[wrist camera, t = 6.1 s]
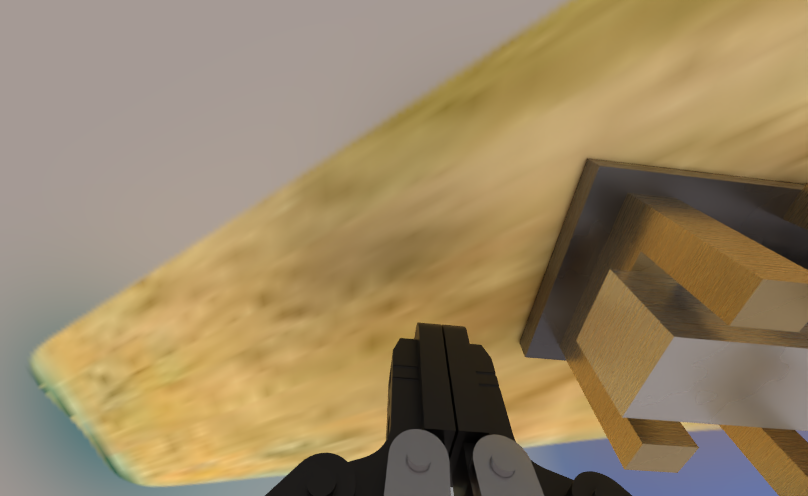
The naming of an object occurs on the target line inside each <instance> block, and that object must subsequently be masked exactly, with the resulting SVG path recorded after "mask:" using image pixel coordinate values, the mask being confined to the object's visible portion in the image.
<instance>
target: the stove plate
mask: <svg viewBox="0 0 808 496" xmlns="http://www.w3.org/2000/svg"><path fill="white" fill-rule="evenodd" d="M804 186H805V184H796V183H788V182H780V181H771V180H763V179H755V178H746V177H738V176H729V175H721V174H713V173H704V172H696V171H687V170H679V169H671V168H662V167H654V166H646V165H637V164H629V163H620V162H612V161H604V160H595V159H587V162H586V165H585V168H584V170H583V173H582V176H581V178H580V181H579V184H578V186H577V189H576V192H575V195H574V197H573V200H572V203H571V205H570V208H569V211H568V213H567V216H566V219H565V222H564V224H563V227H562V230H561V232H560V235H559V238H558V241H557V243H556V246H555V249H554V251H553V254H552V257H551V259H550V262H549V265H548V268H547V270H546V273H545V276H544V278H543V281H542V284H541V286H540V289H539V292H538V295H537V297H536V300H535V303H534V305H533V308H532V311H531V314H530V316H529V319H528V322H527V324H526V327H525V330H524V332H523V335H522V338H521V341H520V345H521V348H522V350H523V353H524V355H525V357H530V358H542V359H554V360H566V358H565V356H564V354H563V353H562V351H561V349H560V347H559V346H560V344H561V342H562V339H563V337H564V335H565V333H566V330H567V328H568V326H569V324H570V321H571V319H572V317H573V315H574V312H575V310H576V308H577V306H578V303H579V301H580V299H581V297H582V295H583V292H584V290H585V288H586V286H587V283H588V281H589V279H590V277H591V274H592V272H593V270H594V268H595V265H596V263H597V261H598V259H599V256H600V254H601V252H602V250H603V247H604V245H605V243H606V241H607V238H608V236H609V234H610V232H611V229H612V227H613V225H614V223H615V220H616V218H617V216H618V214H619V211H620V209H621V207H622V205H623V202H624V200H625V198H626V196H627V193H635V194H644V195H653V196H662V197H670V198H677V199H679V200H680V201H682V202H684V203H686V204H688V205H690V206H691V207H693V208H695V209H697V210H699V211H701V212H702V213H704V214H706V215H708V216H710V217H712V218H713V219H715V220H717V221H719V222H721V223H722V224H724V225H726V226H728V227H730V228H732V229H733V230H735V231H737V232H739V233H741V234H743V235H744V236H746V237H748V238H750V239H752V240H754V241H755V242H757V243H759V244H761V245H763V246H764V247H766V248H768V249H770V250H772V251H774V252H775V253H777V254H779V255H781V256H783V257H785V258H786V259H788V260H790V261H792V262H794V263H796V264H797V265H799V266H801V267H803V268H805V269H807V270H808V230H806V229H804V228H802V227H799V226H797V225H795V224H793V223H790V222H788V221H786V220H784V219H782V218H783V217H784V215H785V214H786V212H787V211H788V209H789V208H790V206H791V205H792V204H793V202H794V201H795V199H796V198H797V196H798V195H799V193H800V192H801V191H802V189H803V188H804Z"/></svg>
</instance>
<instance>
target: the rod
mask: <svg viewBox="0 0 808 496" xmlns="http://www.w3.org/2000/svg"><path fill="white" fill-rule="evenodd" d="M576 341H577V343H578V345H579V346H580V348H581V350H582V351H583V353H584V355H585V356H586V358H587V360H588V361H589V363H590V365H591V366H592V368H593V370H594V371H595V373H596V375H597V376H598V378H599V380H600V381H601V383H602V385H603V386H604V388H605V390H606V391H607V393H608V395H609V396H610V398H611V400H612V401H613V403H614V405H615V406H616V408H617V410H618V411H619V413H620V415H621V417H623V418H636V419H650V420H664V421H678V422H692V423H705V424H719V425H733V426H747V427H761V428H774V429H788V430H803V431H808V322H807V323H806V324H805V325H804V327H803V328H802V329H801V330H800V331H799V332H791V331H780V330H769V329H758V328H747V327H736V326H729V325H728V324H726V323H725V322H724V321H723V320H722V319H720V318H719V317H718V316H717V315H716V314H715V313H713V312H712V311H711V310H710V309H709V308H707V307H706V306H705V305H704V304H703V303H702V302H700V301H699V300H698V299H697V298H696V297H695V296H693V295H692V294H691V293H690V292H689V291H687V290H686V289H685V288H684V287H683V286H682V285H680V284H679V283H678V282H677V281H676V280H674V279H673V278H672V277H671V276H670V275H666V274H656V273H646V272H637V271H627V270H617V269H610V270H609V272H608V274H607V276H606V278H605V280H604V282H603V285H602V287H601V289H600V291H599V293H598V295H597V297H596V299H595V301H594V304H593V306H592V308H591V310H590V312H589V314H588V316H587V318H586V321H585V323H584V325H583V327H582V329H581V331H580V333H579V335H578V337H577V340H576Z"/></svg>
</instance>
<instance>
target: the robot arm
mask: <svg viewBox="0 0 808 496" xmlns="http://www.w3.org/2000/svg"><path fill="white" fill-rule="evenodd" d="M450 487H453V491H454V496H632V495H631V494H630V493H628V492H627V491H626V490H625V489H624V488H622V487H621V486H620V485H619V484H618V483H617V482H615V481H614V480H612V479H611V478H609V477H607V476H605V475H603V474H600V473H597V472H583V473H581V474H579V475H578V476H577V477H576V478H575V480H572V479H569V478H567V477H564V476H562V475H559V474H557V473H555V472H552V471H550V470H547V469H545V468H543V467H541V466H539V465H537V464H536V463H534V462H533V461H532V460H530V458H529V456H528V455H527V453H526V452H525V451H524V449H523V448H522V447H521V446H520V445H519V444H517V443H516V441H515V439H514V436H513V433H512V429H511V426H510V422H509V419H508V415H507V412H506V408H505V405H504V401H503V398H502V394H501V391H500V388H499V384H498V380H497V377H496V376H495V370H494V366H493V363H492V359H491V357H490V356H489V355H488V353H487V352H486V351H485V349H484V348H483V347H482V345H477V344H470V343H469V339H468V334H467V330H466V328H465V327H463V326H452V325H439V324H428V323H417V326H416V332H415V338H414V339H405V338H400V340H399V341H398V343H397V345H396V346H395V348H394V349H393V355H392V362H391V370H390V377H389V385H388V407H387V430H386V442H385V443H384V445H383V446H382V447H381V448H380V449H379V450H378V451H376V452H375V453H373V454H371V455H370V456H367V457H364V458H361V459H357V460H354V461H350V462H347V461H346V460H345V459H343V458H342V457H340V456H338V455H336V454H332V453H319V454H315V455H313V456H310V457H308V458H307V459H305V460H304V461H302V462H301V463H300V464H299V465H298V466H297V467H296V468H295V469H293V470H292V471H291V472H290V473H289V474H288V475H287V476H286V477H285V478H284V479H283V480H282V481H281V482H280V483H278V484H277V485H276V486H275V487H274V488H273V489H272V490H271V491H270V492H269V493H267V494H266V495H265V496H451V491H450Z"/></svg>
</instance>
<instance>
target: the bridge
mask: <svg viewBox="0 0 808 496" xmlns="http://www.w3.org/2000/svg"><path fill="white" fill-rule="evenodd" d="M782 219H784V220H786V221H788V222H790V223H793V224H795V225H797V226H799V227H802V228H804V229H806V230H808V184H806V185H805V186H804V188H803V189H802V191H801V192H800V193H799V195H798V196H797V198H796V199H795V201H794V202H793V204H792V205H791V206H790V208H789V209H788V211H787V212H786V214H785V215H784V217H783V218H782ZM720 426H721V428H722V429H723V430H724V431H725V432H726V434H727V435H728V436H729V437H730V438H731V439H732V440H733V442H734V443H735V444H736V445H737V447H738V448H739V449H740V450H741V451H742V453H743V454H744V455H745V456H746V457H747V458H748V460H749V461H750V462H751V463H752V464H753V465H754V467H755V468H756V469H757V470H758V471H759V473H760V474H761V475H762V476H763V477H764V479H765V480H766V481H767V482H768V483H769V485H770V486H771V487H772V488H773V489H774V490H775V492H777V494H778V495H779V496H808V442H807V441H806V440H805V439H804V438H802V437H801V436H800V435H799V434H798V433H797V432H796V431H795V430H788V429H774V428H761V427H747V426H733V425H720Z"/></svg>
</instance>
